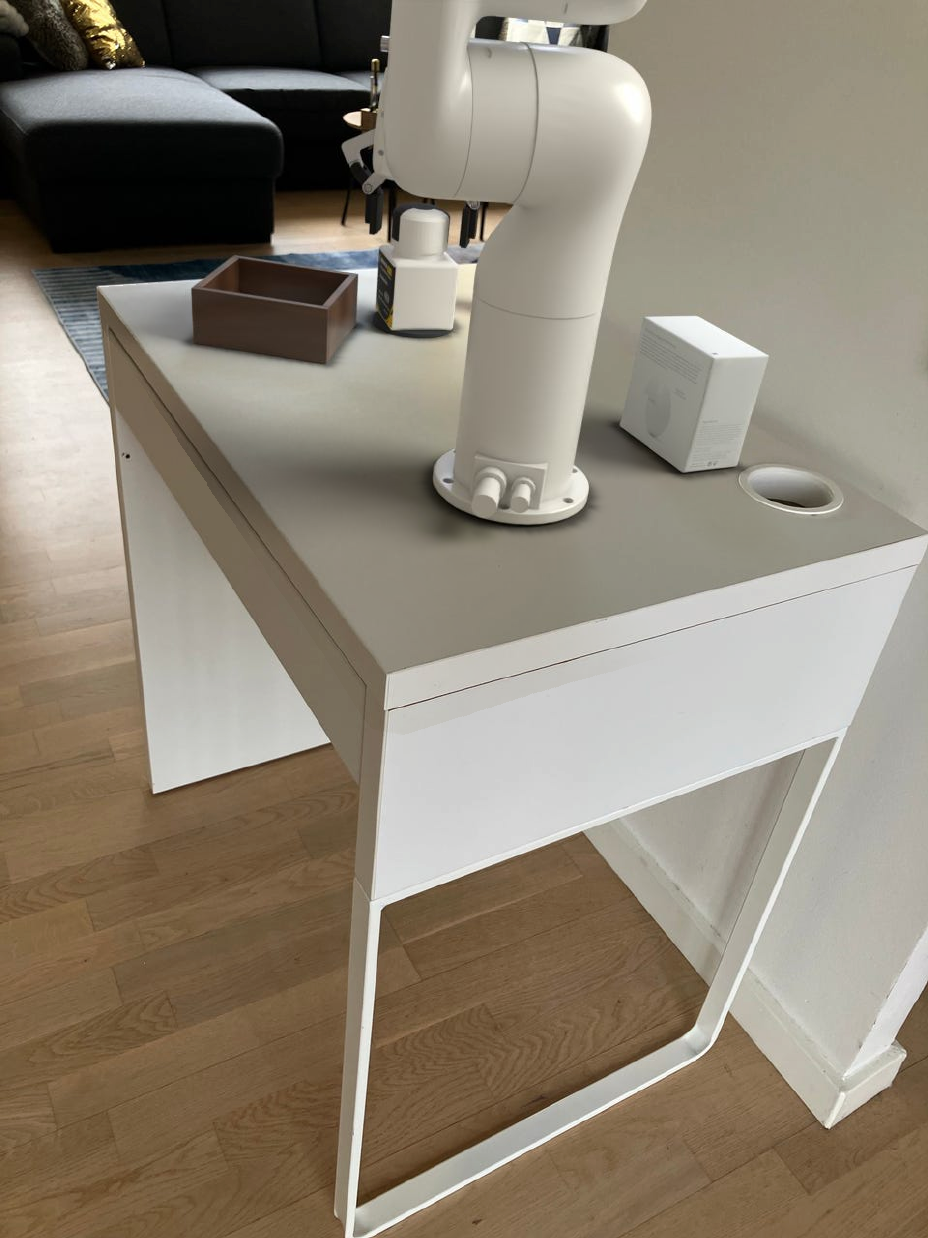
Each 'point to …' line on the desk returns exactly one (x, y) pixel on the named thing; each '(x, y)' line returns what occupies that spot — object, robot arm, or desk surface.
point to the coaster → (409, 333)
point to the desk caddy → (275, 308)
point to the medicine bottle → (417, 271)
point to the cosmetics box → (692, 392)
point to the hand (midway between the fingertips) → (419, 238)
